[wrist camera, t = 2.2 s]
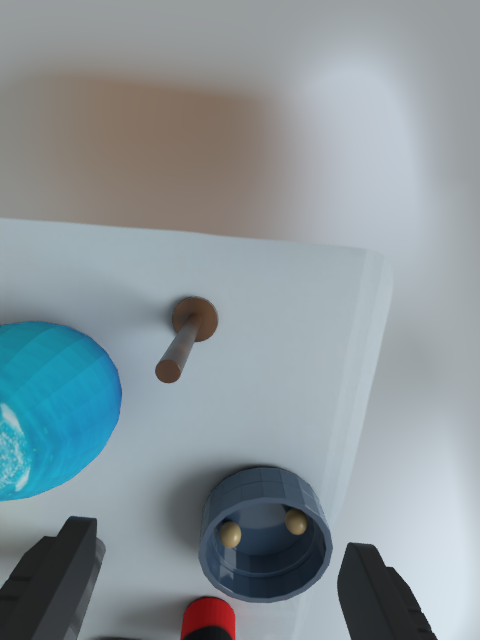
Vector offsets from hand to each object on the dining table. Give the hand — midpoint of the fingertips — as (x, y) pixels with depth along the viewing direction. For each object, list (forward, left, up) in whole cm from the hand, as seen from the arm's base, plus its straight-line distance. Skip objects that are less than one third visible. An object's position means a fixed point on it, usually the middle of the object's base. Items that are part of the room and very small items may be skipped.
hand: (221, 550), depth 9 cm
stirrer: (+3, -3, -24) cm, 25 cm away
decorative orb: (+18, 0, -25) cm, 31 cm away
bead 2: (-3, +25, -22) cm, 34 cm away
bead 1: (+5, +25, -22) cm, 34 cm away
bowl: (+1, +25, -24) cm, 35 cm away
